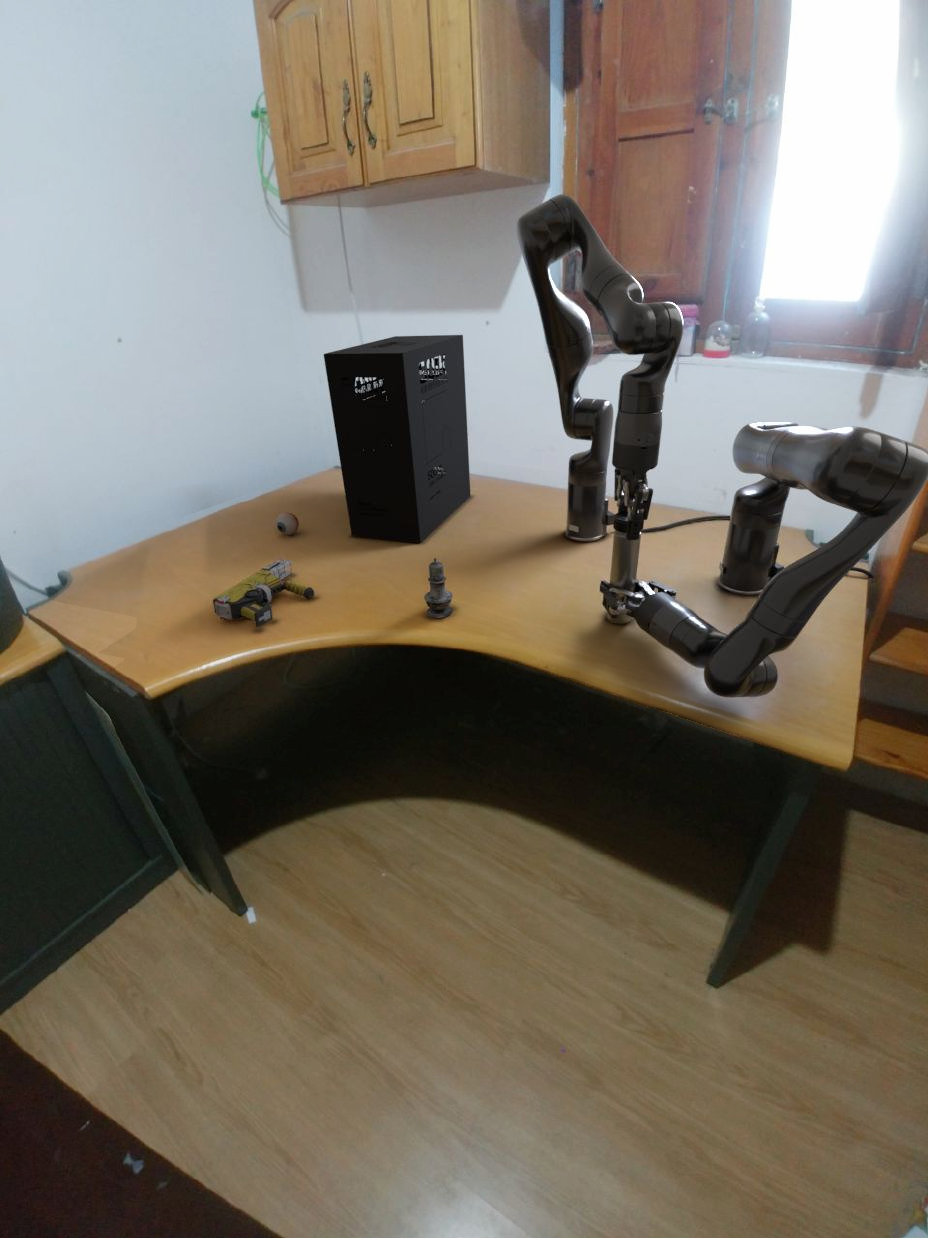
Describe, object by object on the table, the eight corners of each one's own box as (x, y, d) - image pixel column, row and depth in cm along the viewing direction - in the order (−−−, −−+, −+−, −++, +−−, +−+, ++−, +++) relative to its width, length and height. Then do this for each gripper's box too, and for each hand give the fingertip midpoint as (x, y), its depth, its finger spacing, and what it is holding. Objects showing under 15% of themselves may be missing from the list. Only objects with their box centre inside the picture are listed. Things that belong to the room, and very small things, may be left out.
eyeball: (273, 537, 164) (268, 516, 161) (287, 528, 169) (282, 508, 166) (291, 539, 161) (286, 518, 158) (305, 530, 166) (301, 510, 163)
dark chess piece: (450, 619, 120) (446, 564, 114) (422, 617, 121) (416, 563, 115) (456, 605, 125) (453, 552, 119) (429, 603, 126) (424, 551, 120)
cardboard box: (410, 491, 192) (395, 336, 169) (470, 495, 185) (462, 334, 162) (351, 535, 161) (323, 353, 139) (420, 542, 155) (402, 352, 132)
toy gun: (334, 567, 137) (277, 555, 141) (271, 613, 117) (207, 598, 121) (335, 586, 139) (279, 574, 143) (273, 634, 119) (211, 619, 123)
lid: (626, 520, 111) (627, 508, 110) (649, 528, 108) (650, 516, 106) (606, 527, 109) (607, 515, 108) (629, 535, 105) (630, 523, 104)
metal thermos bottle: (609, 610, 120) (617, 515, 110) (633, 613, 119) (644, 518, 109) (604, 621, 116) (612, 525, 107) (629, 625, 115) (640, 527, 105)
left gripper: (603, 429, 106) (596, 520, 115) (628, 450, 94) (618, 550, 102) (645, 427, 107) (635, 518, 115) (675, 447, 94) (662, 547, 103)
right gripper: (707, 594, 103) (647, 557, 117) (636, 612, 99) (582, 571, 113) (700, 632, 107) (643, 591, 120) (631, 650, 102) (580, 606, 116)
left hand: (627, 532), depth 109 cm, fingers closed on lid, 5 cm apart
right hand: (614, 582), depth 116 cm, fingers closed on metal thermos bottle, 4 cm apart
